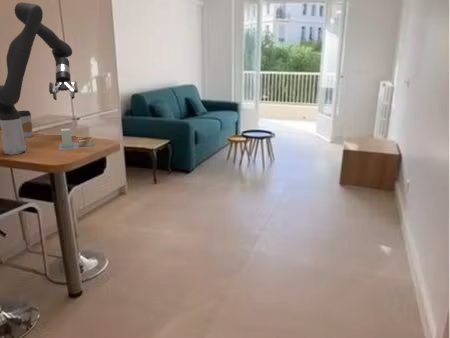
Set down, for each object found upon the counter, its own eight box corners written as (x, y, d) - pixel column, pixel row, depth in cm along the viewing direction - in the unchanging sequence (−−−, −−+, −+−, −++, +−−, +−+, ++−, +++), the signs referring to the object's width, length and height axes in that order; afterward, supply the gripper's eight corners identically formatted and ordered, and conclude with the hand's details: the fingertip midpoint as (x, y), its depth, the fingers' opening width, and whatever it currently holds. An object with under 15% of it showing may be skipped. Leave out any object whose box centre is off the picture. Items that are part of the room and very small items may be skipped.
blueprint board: (58, 151, 190) (58, 149, 189) (59, 145, 200) (59, 144, 200) (95, 148, 195) (95, 146, 195) (94, 142, 206) (94, 141, 206)
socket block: (78, 147, 194) (77, 141, 193) (78, 143, 201) (77, 138, 200) (93, 145, 197) (93, 139, 196) (93, 142, 204) (92, 136, 203)
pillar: (63, 147, 193) (60, 130, 191) (63, 145, 197) (61, 129, 195) (72, 146, 195) (70, 130, 192) (72, 144, 199) (70, 128, 196)
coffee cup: (29, 134, 227) (25, 110, 222) (37, 136, 223) (33, 111, 218) (16, 137, 220) (11, 112, 215) (24, 138, 216) (19, 113, 211)
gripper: (47, 70, 200) (48, 95, 194) (75, 69, 204) (77, 94, 198) (50, 79, 207) (51, 103, 201) (77, 78, 210) (79, 102, 204)
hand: (64, 98), depth 199 cm, fingers open, 8 cm apart
